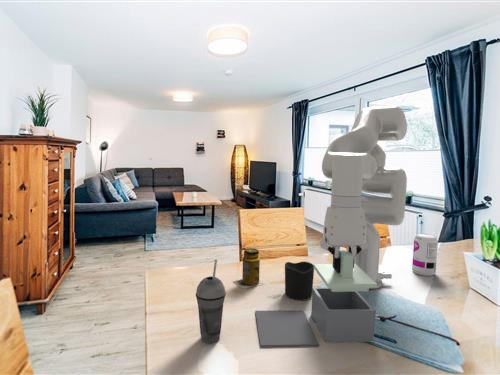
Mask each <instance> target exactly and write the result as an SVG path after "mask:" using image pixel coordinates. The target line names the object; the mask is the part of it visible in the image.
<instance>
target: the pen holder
mask: <svg viewBox="0 0 500 375" xmlns="http://www.w3.org/2000/svg"><path fill="white" fill-rule="evenodd" d="M314 276H315V269H314V264H313V263H311V262H310V261H299V262H290V261H287V262H285V264H284V290H285V291H284V293H285V296H286V297H288V298H289V299H292V300H294V301H307V300H310V299H311V298H312V287H314V278H315V277H314Z"/></svg>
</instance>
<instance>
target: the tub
mask: <svg viewBox="0 0 500 375" xmlns="http://www.w3.org/2000/svg"><path fill="white" fill-rule="evenodd" d="M310 314H311V316H313V317H312V319H313V318H314V319H313V321H314V320H315V321H314V322H316V323H315V324H316V327H317V328H318V331H319V332H320V335H321V336H322V338H323V341H324V343H369V341H374V340H375V325H376V324H375V322H376V309H375V308H374V307H373V306H372V305H371V304H370V303H369V302H368V301H367V300H366V299H365V297H364V296H363V295H362V294H361V293H360V291H354V292H332V291H331V290H330V288H328V287H327V286H326V287H322V286H321V287H318V286H317V287H316V286H315V287H314V286H313V287H312V296H311V313H310Z"/></svg>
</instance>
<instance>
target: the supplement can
mask: <svg viewBox="0 0 500 375" xmlns="http://www.w3.org/2000/svg"><path fill="white" fill-rule="evenodd" d="M438 245H439V241H438V238H437V236H436V235H434V234H428V233H417V234H416V235H415V236H414V238H413V249H412V250H413V251H412V262H411V269H412V270H411V271H413V272H414V273H415V274H417V275H419V276H426V277H431V276H434V275H435V274H436V272H437V271H436V270H437V259H438V249H439V248H438Z"/></svg>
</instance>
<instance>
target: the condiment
mask: <svg viewBox="0 0 500 375" xmlns="http://www.w3.org/2000/svg"><path fill="white" fill-rule="evenodd" d="M259 253H260V252H259V249H257V248H250V247H249V248H245V249H244V250H243V258H242V276H241V277H242V279H239V280H237V279H236V280H233V281H232V282H233V283H235V284H236V285H237V286H238V287H240V288H242V289H244V290H245V289H250V288H253V287H258V286H262V285H264V284H265V283H264V282H262V281H260V269H261V268H260V266H261V265H260V264H261V258H260V254H259Z"/></svg>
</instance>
